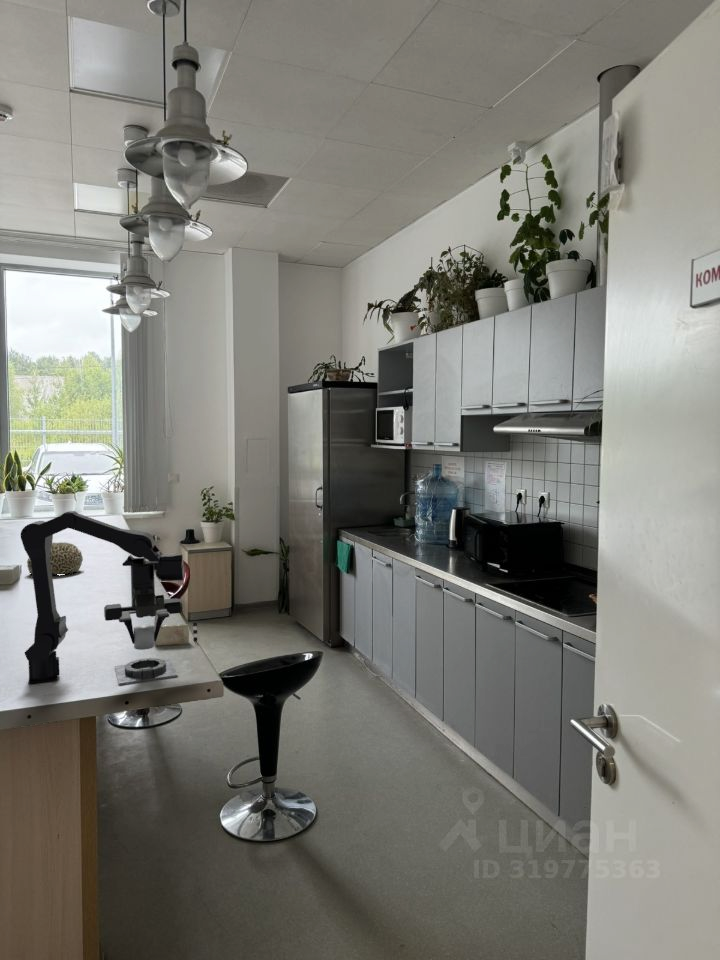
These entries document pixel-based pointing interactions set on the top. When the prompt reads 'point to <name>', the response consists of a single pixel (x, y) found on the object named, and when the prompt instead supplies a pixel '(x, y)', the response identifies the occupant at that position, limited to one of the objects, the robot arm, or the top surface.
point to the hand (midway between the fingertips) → (144, 642)
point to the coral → (63, 558)
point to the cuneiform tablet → (175, 634)
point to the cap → (144, 637)
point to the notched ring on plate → (145, 671)
